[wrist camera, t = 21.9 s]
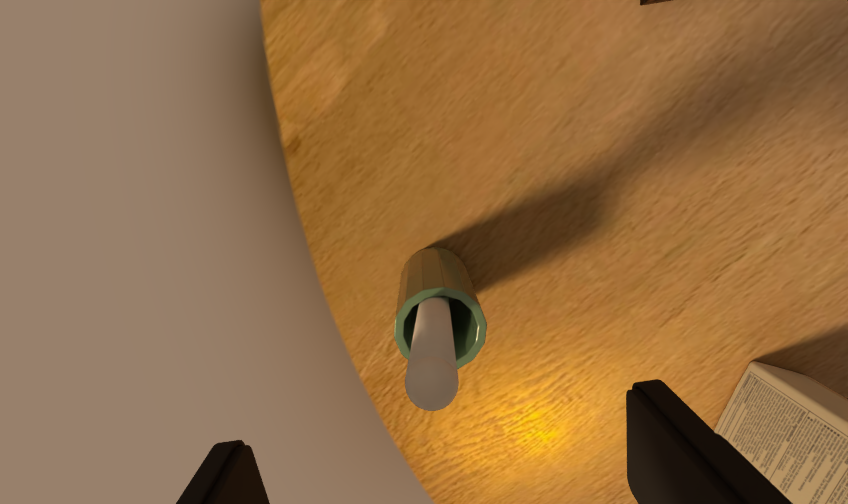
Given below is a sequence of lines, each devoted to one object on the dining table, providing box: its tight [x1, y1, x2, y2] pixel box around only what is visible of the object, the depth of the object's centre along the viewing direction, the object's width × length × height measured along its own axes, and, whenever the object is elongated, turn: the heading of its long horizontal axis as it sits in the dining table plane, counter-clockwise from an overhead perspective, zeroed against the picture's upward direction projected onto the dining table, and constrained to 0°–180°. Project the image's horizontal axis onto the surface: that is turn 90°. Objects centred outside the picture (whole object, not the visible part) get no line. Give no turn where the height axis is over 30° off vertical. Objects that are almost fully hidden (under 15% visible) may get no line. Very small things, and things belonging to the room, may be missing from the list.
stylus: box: [405, 296, 458, 411], centre depth 17 cm, size 1×1×14 cm
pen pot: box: [394, 247, 487, 369], centre depth 21 cm, size 4×4×7 cm
